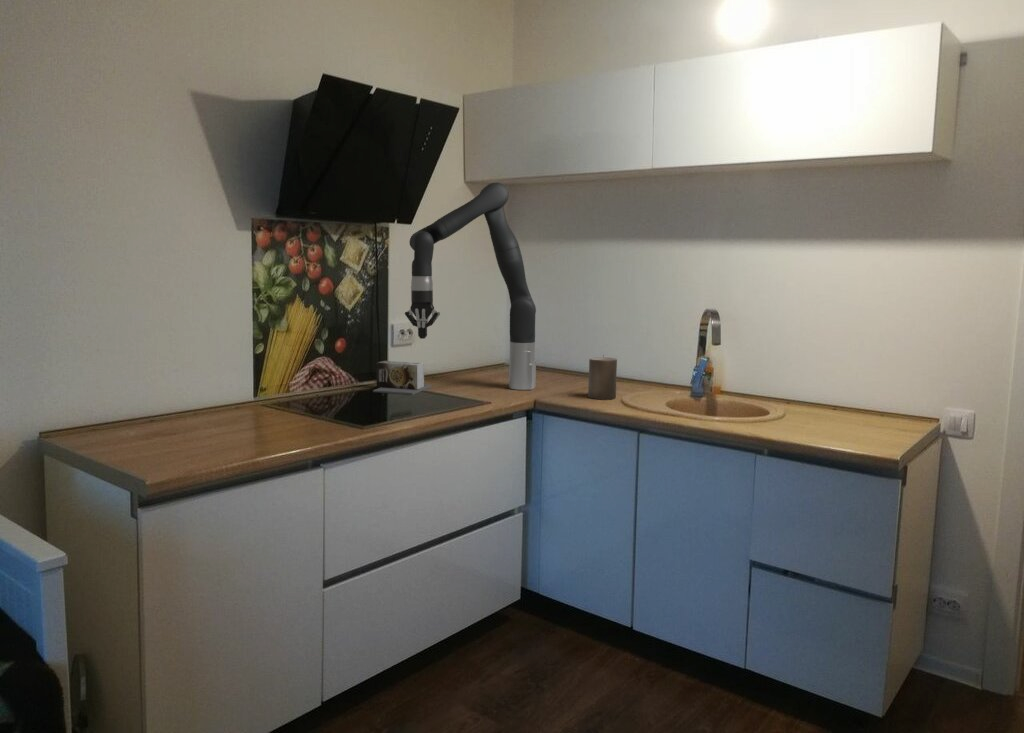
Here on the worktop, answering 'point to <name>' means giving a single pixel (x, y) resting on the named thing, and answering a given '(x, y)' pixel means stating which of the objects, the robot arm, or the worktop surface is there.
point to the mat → (400, 390)
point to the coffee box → (400, 375)
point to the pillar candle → (602, 378)
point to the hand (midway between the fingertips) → (422, 338)
